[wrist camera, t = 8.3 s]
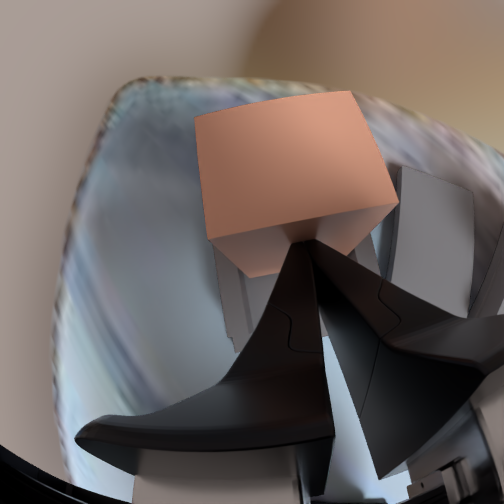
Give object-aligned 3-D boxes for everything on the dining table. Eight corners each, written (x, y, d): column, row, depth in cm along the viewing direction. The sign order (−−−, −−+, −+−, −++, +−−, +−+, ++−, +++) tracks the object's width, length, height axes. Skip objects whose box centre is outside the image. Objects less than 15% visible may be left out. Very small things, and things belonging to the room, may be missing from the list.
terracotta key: (342, 259, 14) (399, 202, 6) (249, 278, 15) (207, 239, 7) (324, 190, 15) (349, 90, 7) (237, 207, 15) (194, 117, 8)
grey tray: (531, 386, 11) (560, 392, 7) (168, 327, 16) (135, 330, 12) (547, 238, 13) (574, 226, 9) (228, 136, 18) (215, 99, 14)
